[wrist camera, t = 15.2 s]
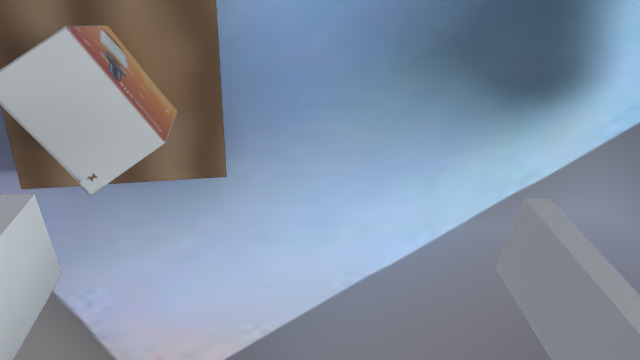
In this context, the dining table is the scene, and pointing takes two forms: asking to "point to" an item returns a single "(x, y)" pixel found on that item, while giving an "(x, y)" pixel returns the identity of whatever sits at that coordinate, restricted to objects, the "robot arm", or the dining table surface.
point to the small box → (87, 103)
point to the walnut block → (159, 64)
